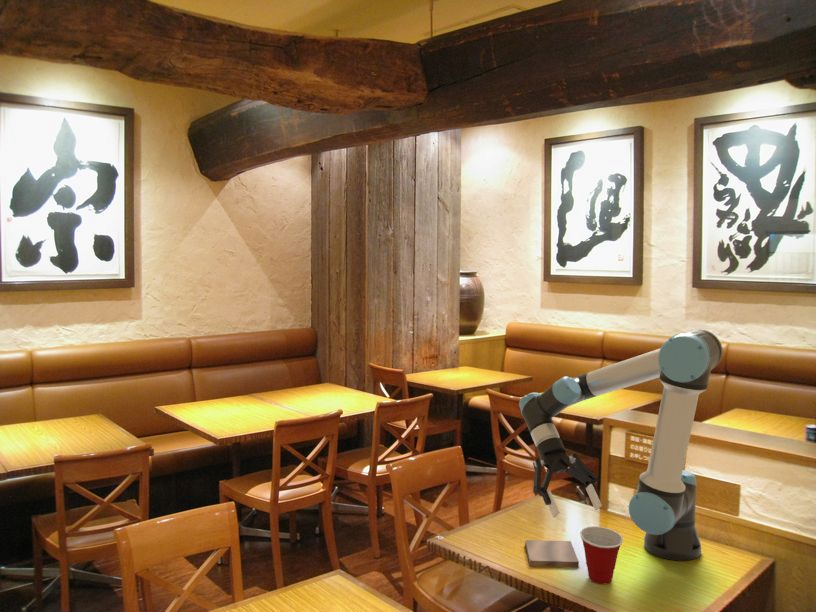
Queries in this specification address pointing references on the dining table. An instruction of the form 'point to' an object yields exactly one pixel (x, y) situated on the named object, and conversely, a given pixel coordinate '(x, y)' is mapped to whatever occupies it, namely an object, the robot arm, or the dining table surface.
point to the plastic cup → (601, 552)
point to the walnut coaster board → (551, 553)
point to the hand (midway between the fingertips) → (577, 511)
